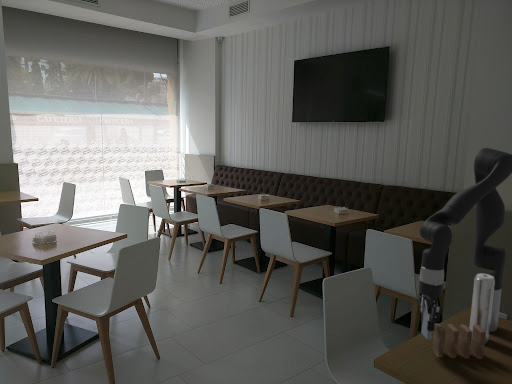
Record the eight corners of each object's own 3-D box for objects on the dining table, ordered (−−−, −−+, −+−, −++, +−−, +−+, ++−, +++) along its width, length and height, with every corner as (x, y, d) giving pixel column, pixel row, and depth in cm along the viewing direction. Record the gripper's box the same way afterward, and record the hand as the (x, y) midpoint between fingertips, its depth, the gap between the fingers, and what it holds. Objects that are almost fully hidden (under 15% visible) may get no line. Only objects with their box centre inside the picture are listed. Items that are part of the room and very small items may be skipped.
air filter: (488, 337, 149) (495, 274, 146) (488, 345, 144) (495, 280, 140) (468, 332, 152) (475, 271, 149) (468, 340, 147) (474, 276, 143)
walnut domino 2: (451, 358, 135) (454, 330, 133) (445, 350, 140) (447, 323, 138) (456, 358, 135) (458, 331, 133) (449, 350, 140) (452, 324, 138)
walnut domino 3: (464, 358, 135) (467, 331, 133) (457, 350, 140) (460, 324, 138) (469, 358, 135) (472, 331, 133) (462, 350, 140) (465, 324, 138)
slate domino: (425, 332, 139) (428, 305, 137) (431, 339, 134) (434, 312, 132) (421, 332, 139) (423, 305, 137) (426, 339, 134) (429, 311, 133)
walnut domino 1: (438, 357, 135) (440, 330, 134) (432, 349, 140) (434, 323, 138) (442, 357, 135) (445, 330, 134) (436, 349, 140) (439, 323, 138)
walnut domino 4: (478, 359, 135) (481, 331, 133) (470, 351, 140) (473, 324, 138) (482, 359, 135) (485, 332, 133) (475, 351, 140) (478, 324, 138)
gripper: (412, 272, 141) (408, 317, 143) (428, 287, 127) (424, 337, 129) (433, 272, 141) (429, 317, 143) (452, 288, 126) (447, 337, 129)
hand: (427, 326), depth 136 cm, fingers closed on slate domino, 5 cm apart
